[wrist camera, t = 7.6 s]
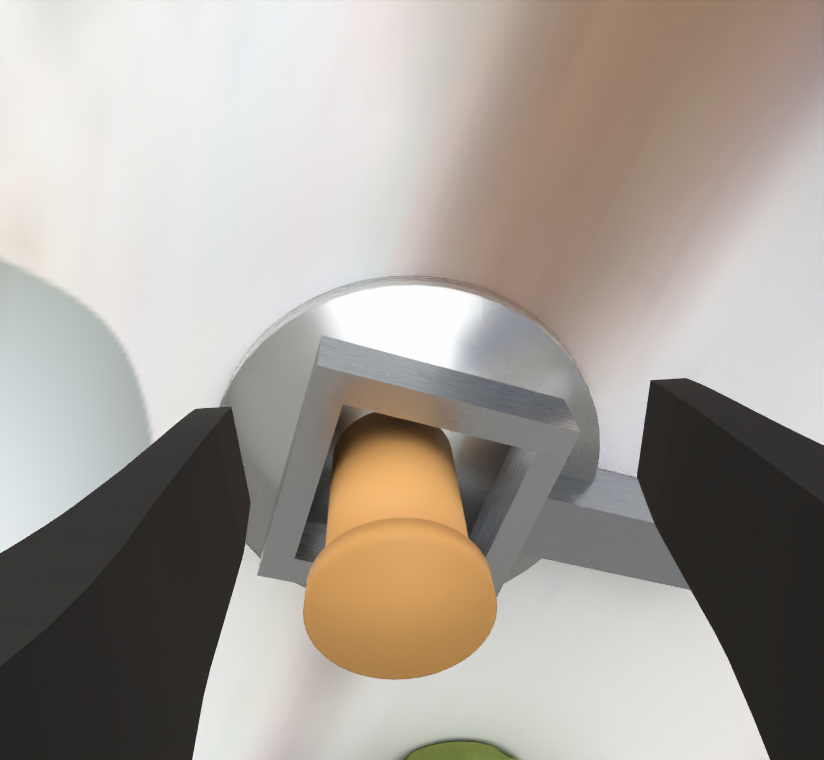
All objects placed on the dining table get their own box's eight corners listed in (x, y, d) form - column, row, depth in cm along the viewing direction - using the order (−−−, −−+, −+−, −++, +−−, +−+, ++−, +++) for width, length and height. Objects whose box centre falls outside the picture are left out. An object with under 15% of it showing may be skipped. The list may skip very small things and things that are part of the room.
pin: (453, 386, 21) (484, 524, 15) (473, 503, 23) (507, 662, 18) (304, 413, 21) (280, 559, 16) (339, 527, 24) (329, 692, 18)
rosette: (822, 386, 23) (889, 441, 20) (649, 641, 29) (681, 713, 26) (260, 223, 19) (240, 260, 16) (189, 552, 25) (164, 624, 22)
